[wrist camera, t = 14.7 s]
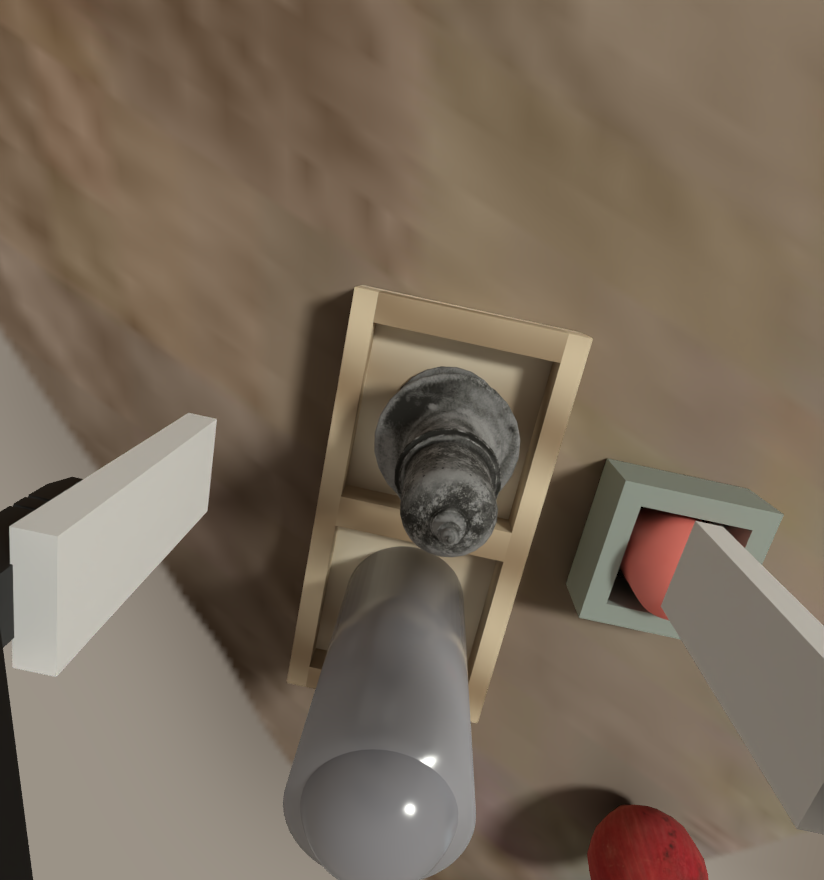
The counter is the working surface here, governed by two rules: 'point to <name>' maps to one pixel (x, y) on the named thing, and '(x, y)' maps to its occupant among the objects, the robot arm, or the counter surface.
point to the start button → (655, 555)
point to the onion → (643, 847)
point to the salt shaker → (447, 457)
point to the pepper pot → (389, 728)
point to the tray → (378, 506)
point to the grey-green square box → (615, 520)
